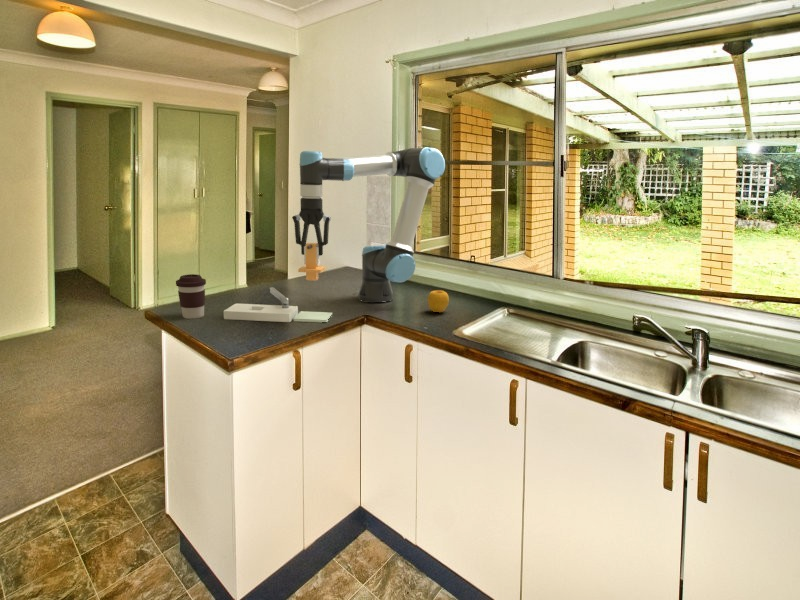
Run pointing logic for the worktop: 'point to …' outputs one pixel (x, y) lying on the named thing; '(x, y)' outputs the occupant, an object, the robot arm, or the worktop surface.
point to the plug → (311, 263)
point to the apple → (438, 301)
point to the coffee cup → (191, 295)
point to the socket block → (261, 312)
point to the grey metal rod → (279, 296)
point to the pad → (312, 316)
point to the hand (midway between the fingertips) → (312, 264)
